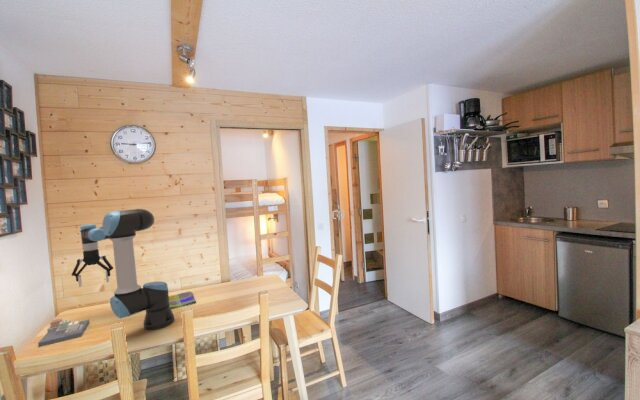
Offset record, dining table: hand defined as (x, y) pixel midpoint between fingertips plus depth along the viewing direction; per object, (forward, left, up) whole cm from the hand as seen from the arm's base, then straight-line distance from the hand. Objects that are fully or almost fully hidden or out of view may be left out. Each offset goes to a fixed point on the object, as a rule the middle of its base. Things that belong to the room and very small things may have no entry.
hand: (94, 284), depth 180 cm
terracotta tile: (-11, +17, -17) cm, 26 cm away
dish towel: (-6, -46, -22) cm, 51 cm away
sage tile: (-17, +12, -17) cm, 27 cm away
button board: (-17, +12, -21) cm, 29 cm away
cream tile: (-23, +7, -17) cm, 29 cm away
